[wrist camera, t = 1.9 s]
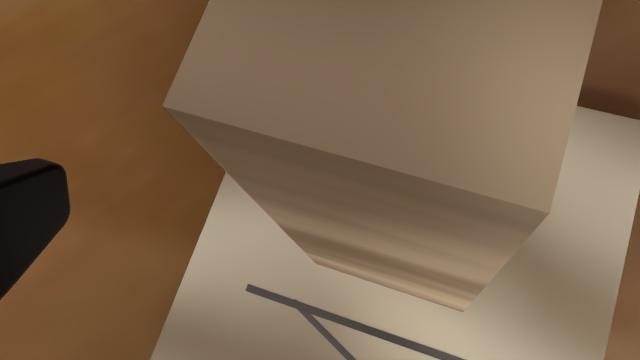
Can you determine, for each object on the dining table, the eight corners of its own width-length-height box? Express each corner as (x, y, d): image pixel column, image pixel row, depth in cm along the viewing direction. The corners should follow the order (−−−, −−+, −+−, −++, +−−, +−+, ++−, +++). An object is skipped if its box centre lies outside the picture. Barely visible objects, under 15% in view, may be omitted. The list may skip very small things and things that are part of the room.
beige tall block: (462, 312, 17) (549, 213, 6) (315, 263, 19) (162, 106, 7) (505, 157, 19) (643, -161, 7) (365, 121, 20) (299, -202, 9)
